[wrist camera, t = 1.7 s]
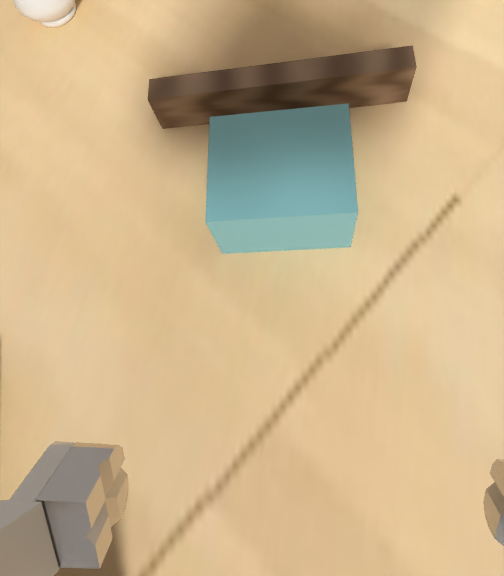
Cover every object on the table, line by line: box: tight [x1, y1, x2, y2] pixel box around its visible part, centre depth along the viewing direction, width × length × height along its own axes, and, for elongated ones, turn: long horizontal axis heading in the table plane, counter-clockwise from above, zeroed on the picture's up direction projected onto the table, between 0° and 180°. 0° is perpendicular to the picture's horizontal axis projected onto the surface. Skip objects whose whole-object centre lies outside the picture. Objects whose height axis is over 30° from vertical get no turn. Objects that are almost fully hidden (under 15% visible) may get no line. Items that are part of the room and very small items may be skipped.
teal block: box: [206, 103, 358, 254], centre depth 43 cm, size 14×12×8 cm
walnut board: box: [148, 46, 416, 129], centre depth 49 cm, size 30×3×5 cm, turn 91°
